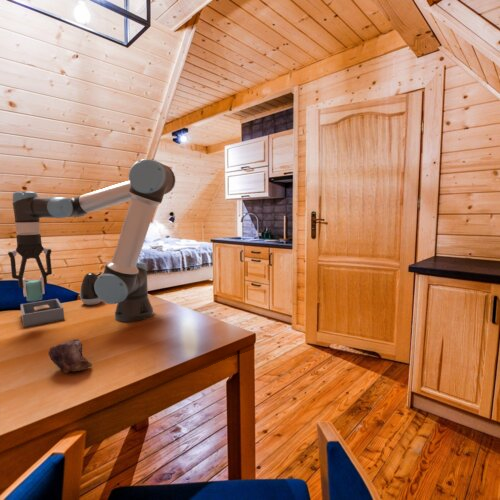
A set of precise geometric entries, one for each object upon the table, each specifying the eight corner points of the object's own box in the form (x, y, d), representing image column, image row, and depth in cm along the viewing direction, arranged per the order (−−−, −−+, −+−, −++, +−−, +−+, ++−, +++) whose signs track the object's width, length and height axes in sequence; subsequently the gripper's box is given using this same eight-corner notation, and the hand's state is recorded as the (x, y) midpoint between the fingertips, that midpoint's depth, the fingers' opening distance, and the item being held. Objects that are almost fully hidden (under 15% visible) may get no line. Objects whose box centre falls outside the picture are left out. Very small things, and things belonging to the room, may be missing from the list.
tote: (64, 319, 129) (63, 307, 128) (23, 327, 120) (22, 315, 120) (58, 309, 142) (57, 298, 142) (21, 315, 134) (20, 304, 133)
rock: (87, 361, 96) (48, 370, 90) (85, 333, 96) (46, 340, 90) (93, 371, 86) (50, 381, 80) (91, 339, 86) (48, 348, 80)
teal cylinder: (44, 297, 123) (43, 279, 122) (39, 301, 118) (37, 282, 117) (30, 298, 122) (28, 280, 121) (24, 301, 117) (22, 283, 116)
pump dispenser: (109, 302, 153) (107, 271, 151) (88, 308, 144) (86, 275, 142) (96, 299, 158) (94, 269, 156) (76, 304, 149) (73, 273, 147)
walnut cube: (48, 316, 132) (47, 304, 131) (51, 318, 128) (49, 307, 127) (34, 318, 128) (33, 307, 128) (36, 321, 125) (35, 309, 124)
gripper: (54, 232, 125) (59, 288, 128) (-3, 234, 113) (3, 296, 116) (58, 233, 119) (63, 292, 122) (-2, 235, 108) (5, 301, 111)
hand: (34, 294), depth 119 cm, fingers closed on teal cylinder, 5 cm apart
